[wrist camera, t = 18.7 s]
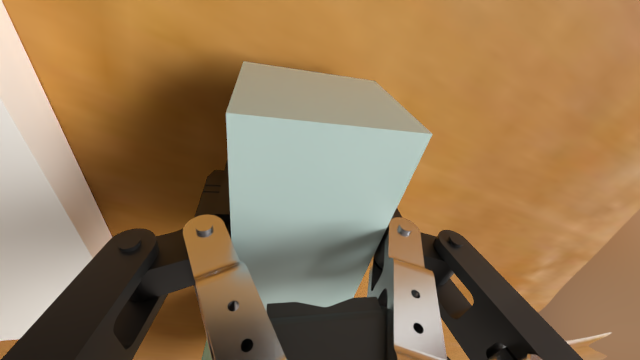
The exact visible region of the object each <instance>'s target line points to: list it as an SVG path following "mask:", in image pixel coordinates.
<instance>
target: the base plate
mask: <svg viewBox="0 0 640 360" xmlns="http://www.w3.org/2000/svg"><path fill="white" fill-rule="evenodd" d="M111 238H112V236H111V233H110V231H109V229H108V227H107V225H106V223H105V221H104V219H103V216H102V214H101V212H100V210H99V208H98V206H97V204H96V201H95V199H94V197H93V195H92V193H91V191H90V189H89V186H88V184H87V182H86V180H85V178H84V176H83V174H82V171H81V169H80V167H79V165H78V163H77V161H76V159H75V157H74V154H73V152H72V150H71V148H70V146H69V144H68V142H67V139H66V137H65V135H64V133H63V131H62V129H61V127H60V124H59V122H58V120H57V118H56V116H55V114H54V112H53V109H52V107H51V105H50V103H49V101H48V99H47V97H46V95H45V92H44V90H43V88H42V86H41V84H40V82H39V80H38V77H37V75H36V73H35V71H34V69H33V67H32V65H31V62H30V60H29V58H28V56H27V54H26V52H25V50H24V47H23V45H22V43H21V41H20V39H19V37H18V35H17V33H16V30H15V28H14V26H13V24H12V22H11V20H10V18H9V15H8V13H7V11H6V9H5V7H4V5H3V3H2V0H0V341H3V340H16V339H20V338H21V337H22V336H23V335H24V334H25V333H26V332H27V330H28V329H29V328H30V327H31V326H32V325H33V324H34V323H35V322H36V321H37V319H38V318H39V317H40V316H41V315H42V314H43V313H44V312H45V311H46V309H47V308H48V307H49V306H50V305H51V304H52V303H53V302H54V301H55V300H56V298H57V297H58V296H59V295H60V294H61V293H62V292H63V291H64V290H65V289H66V287H67V286H68V285H69V284H70V283H71V282H72V281H73V280H74V279H75V278H76V276H77V275H78V274H79V273H80V272H81V271H82V270H83V269H84V268H85V266H86V265H87V264H88V263H89V262H90V261H91V260H92V259H93V258H94V257H95V255H96V254H97V253H98V252H99V251H100V250H101V249H102V248H103V247H104V246H105V244H106V243H107V242H108V241H109V240H110V239H111Z"/></svg>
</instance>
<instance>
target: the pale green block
mask: <svg viewBox="0 0 640 360" xmlns="http://www.w3.org/2000/svg"><path fill="white" fill-rule="evenodd" d="M226 128H227V152H228V175H229V198H230V221H231V240H232V243H233V245H234V248H235V250H236V253H237V255H238V257H239V260H240V261H241V262H244V263H245V264H246V266H247V268H248V270H249V273H250V275H251V277H252V280H253V282H254V284H255V287H256V289H257V291H258V294H259V296H260V298H261V301H262V303H263V305H264V308H265V310H266V308H267V304H269V303H285V302H300V303H305V304H310V305H315V306H320V307H329V306H332V305H335V304H337V303H340V302H343V301H345V300H348V299H351V298H353V297H354V295H355V293H356V291H357V289H358V286H359V284H360V282H361V280H362V278H363V276H364V274H365V272H366V270H367V268H368V266H369V264H370V262H371V260H372V258H373V256H374V254H375V251H376V249H377V247H378V245H379V243H380V241H381V239H382V237H383V235H384V233H385V231H386V229H387V227H388V225H389V223H390V221H391V219H392V216H393V214H394V212H395V210H396V208H397V206H398V204H399V202H400V200H401V198H402V196H403V194H404V192H405V190H406V188H407V186H408V184H409V181H410V179H411V177H412V175H413V173H414V171H415V169H416V167H417V165H418V163H419V161H420V159H421V157H422V155H423V153H424V151H425V149H426V146H427V144H428V142H429V140H430V138H431V136H432V133H431V132H430V131H429V130H427V129H426V128H425V127H424V126H423V125H422V124H421V123H420V122H419V121H418V120H417V119H416V118H414V117H413V116H412V115H411V114H410V113H409V112H408V111H407V110H406V109H405V108H404V107H403V106H401V105H400V104H399V103H398V102H397V101H396V100H395V99H394V98H393V97H392V96H391V95H390V94H388V93H387V92H386V91H385V90H384V89H383V88H382V87H381V86H380V85H379V84H378V83H377V82H375V81H372V80H365V79H359V78H352V77H345V76H339V75H332V74H325V73H319V72H312V71H305V70H299V69H292V68H285V67H279V66H272V65H265V64H259V63H252V62H245V61H243V64H242V67H241V70H240V73H239V76H238V79H237V82H236V85H235V88H234V90H233V93H232V96H231V99H230V102H229V105H228V108H227V111H226Z"/></svg>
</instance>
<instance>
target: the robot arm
mask: <svg viewBox="0 0 640 360" xmlns="http://www.w3.org/2000/svg"><path fill="white" fill-rule="evenodd" d="M454 273H455V274H456V276H457V277H458V278H459V279H460V280H461V282H462V283H463V284H464V285H465V287H466V288H467V289H468V290H469V291H470V293H471V294H472V296H473V299H474V304H473V306H471V304H470V303H469V302H468V301H467V299H466V298H465V297H464V296H463V294H462V293H461V292H460V291H459V289H458V288H457V287H456V286H455V284H454V283H453V282H452V281H451V279H450V277H451V276H452V275H453V274H454ZM192 285H194V287H195V291H196V296H197V300H198V304H199V308H200V312H201V316H202V320H203V324H204V328H205V333H206V337H207V341H208V346H209V350H210V354H211V358H212V360H451V359H449V358H448V357H447V356H446V350H445V343H444V337H443V330H442V324H441V318H442V320H443V321H444V323H445V324H446V325H447V327H448V328H449V330H450V331H451V333H452V334H453V336H454V337H455V339H456V340H457V342H458V343H459V345H460V346H461V347H462V349H463V350H464V352H465V353H466V355H467V356H468V358H469V359H470V360H583V359H582V358H581V357H580V356H579V355H578V354H577V353H576V352H575V351H574V350H573V349H572V348H571V347H570V346H569V345H568V344H567V343H566V341H565V340H564V339H563V338H562V337H561V336H560V335H559V334H558V333H557V332H556V331H555V330H554V329H553V328H552V327H551V326H550V325H549V324H548V323H547V322H546V321H545V320H544V319H543V318H542V317H541V316H540V315H539V314H538V313H537V312H536V311H535V310H534V309H533V308H532V307H531V306H530V305H529V303H528V302H527V301H526V300H525V299H524V298H523V297H522V296H521V295H520V294H519V293H518V292H517V291H516V290H515V289H514V288H513V287H512V286H511V285H510V284H509V283H508V282H507V281H506V280H505V279H504V278H503V277H502V276H501V275H500V274H499V273H498V272H497V271H496V270H495V269H494V268H493V267H492V265H491V264H490V263H489V262H488V261H487V260H486V259H485V258H484V257H483V256H482V255H481V254H480V253H479V252H478V251H477V250H476V249H475V248H474V247H473V246H472V245H471V244H470V243H469V242H468V241H467V240H466V239H465V238H464V237H463V236H461V235H460V234H458V233H456V232H454V231H450V230H443V231H441V232H440V233H439V234H438V236H437V237H436V236H432V235H428V234H424V233H421V232H420V230H419V229H418V227H417V226H416V225H415V224H414V223H413V222H411V221H410V220H407V219H405V218H402V216H401V214H400V213H399V211H398V209H397V208H396V210H395V212H394V214H393V216H392V219H391V221H390V223H389V225H388V227H387V229H386V231H385V233H384V235H383V237H382V239H381V241H380V243H379V245H378V247H377V249H376V251H375V254H374V256H373V258H372V260H371V262H370V273H369V284H368V295H367V297H362V298H351V299H348V300H345V301H343V302H340V303H337V304H335V305H332V306H329V307H320V306H315V305H310V304H305V303H300V302H285V303H269V304H267V308H266V310H265V308H264V305H263V303H262V301H261V298H260V296H259V294H258V291H257V289H256V287H255V284H254V282H253V280H252V277H251V275H250V273H249V270H248V268H247V266H246V264H245V263H244V262H241V261H240V260H239V257H238V255H237V253H236V250H235V248H234V245H233V243H232V240H231V221H230V198H229V175H228V160H227V162H226V167H225V171H221V170H214V171H213V172H212V173H211V174H210V175H209V176H208V177H207V180H206V183H205V186H204V189H203V193H202V195H201V198H200V202H199V205H198V208H197V211H196V214H195V217H194V218H193V219H191V220H189V221H188V222H187V223H186V224H185V226H184V228H183V229H181V230H179V231H176V232H173V233H169V234H165V235H160V236H156V237H155V235H154V233H153V232H151V231H149V230H147V229H131V230H127V231H124V232H122V233H119V234H117V235H116V236H114V237H113V238H111V239H110V240H109V241H108V242H107V243H106V244H105V246H104V247H103V248H102V249H101V250H100V251H99V252H98V253H97V254H96V255H95V257H94V258H93V259H92V260H91V261H90V262H89V263H88V264H87V265H86V266H85V268H84V269H83V270H82V271H81V272H80V273H79V274H78V275H77V276H76V278H75V279H74V280H73V281H72V282H71V283H70V284H69V285H68V286H67V287H66V289H65V290H64V291H63V292H62V293H61V294H60V295H59V296H58V297H57V298H56V300H55V301H54V302H53V303H52V304H51V305H50V306H49V307H48V308H47V309H46V311H45V312H44V313H43V314H42V315H41V316H40V317H39V318H38V319H37V321H36V322H35V323H34V324H33V325H32V326H31V327H30V328H29V329H28V330H27V332H26V333H25V334H24V335H23V336H22V337H21V338H20V339H19V340H18V341H17V343H16V344H15V345H14V346H13V347H12V348H11V349H10V350H9V351H8V352H7V354H6V355H5V356H4V357H3V358H2V359H1V360H132V359H133V357H134V355H135V353H136V352H137V350H138V348H139V346H140V344H141V342H142V341H143V339H144V337H145V335H146V333H147V331H148V330H149V328H150V326H151V324H152V322H153V320H154V319H155V317H156V315H157V313H158V311H159V309H160V308H161V306H162V304H163V302H164V300H165V298H166V297H167V295H168V293H171V292H174V291H177V290H180V289H183V288H186V287H189V286H192Z"/></svg>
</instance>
